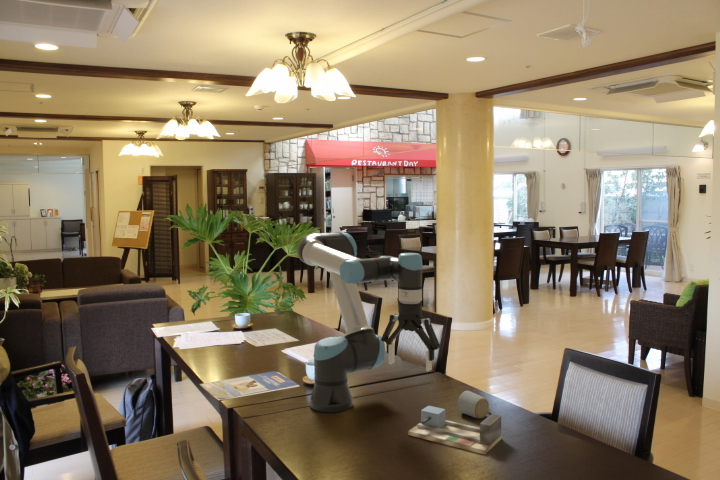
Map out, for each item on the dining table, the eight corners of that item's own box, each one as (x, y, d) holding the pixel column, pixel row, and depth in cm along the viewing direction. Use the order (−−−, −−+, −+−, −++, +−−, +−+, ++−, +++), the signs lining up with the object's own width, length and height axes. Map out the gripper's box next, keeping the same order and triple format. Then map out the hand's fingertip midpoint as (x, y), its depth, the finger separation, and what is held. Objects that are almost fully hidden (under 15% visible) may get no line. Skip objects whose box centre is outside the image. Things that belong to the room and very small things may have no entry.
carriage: (414, 430, 178) (414, 414, 177) (428, 420, 185) (428, 405, 185) (431, 434, 174) (431, 418, 174) (445, 424, 182) (445, 409, 182)
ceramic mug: (476, 422, 187) (476, 399, 187) (456, 415, 193) (457, 392, 193) (496, 414, 194) (497, 392, 193) (477, 408, 200) (477, 386, 200)
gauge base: (408, 434, 178) (408, 412, 177) (428, 421, 188) (428, 399, 188) (484, 454, 164) (484, 429, 163) (501, 438, 174) (501, 415, 174)
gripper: (370, 299, 188) (370, 363, 190) (440, 307, 174) (440, 376, 176) (382, 296, 194) (382, 357, 196) (451, 303, 180) (450, 370, 182)
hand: (409, 366), depth 186 cm, fingers open, 13 cm apart
